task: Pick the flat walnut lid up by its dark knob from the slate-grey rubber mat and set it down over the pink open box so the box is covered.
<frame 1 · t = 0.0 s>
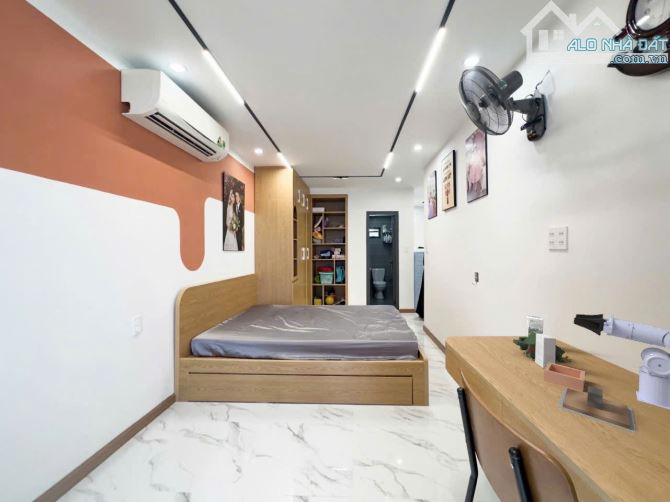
hand: (574, 318, 95), 22 cm above the table, tool horizontal, fingers open, 7 cm apart
pink open box: (564, 382, 93), on the table
green toy dinosaur: (539, 358, 115), on the table
rubber mat: (594, 409, 77), on the table
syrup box: (534, 347, 128), on the table
skincare box: (544, 366, 107), on the table
walnut lid: (594, 408, 77), resting on rubber mat
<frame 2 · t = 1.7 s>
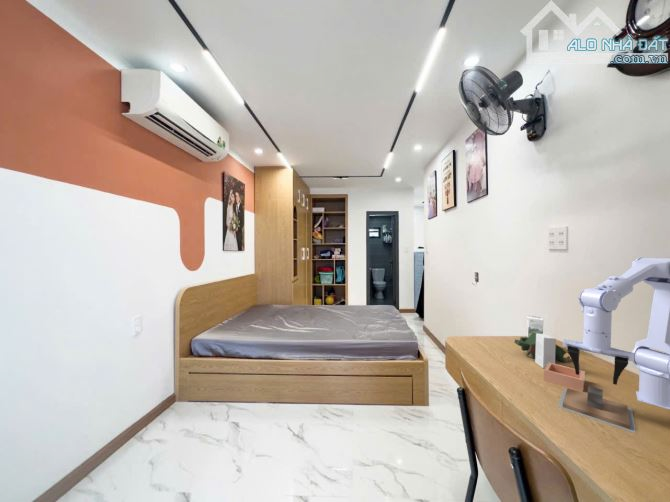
hand: (595, 378, 77), 9 cm above the table, tool pointing down, fingers open, 7 cm apart
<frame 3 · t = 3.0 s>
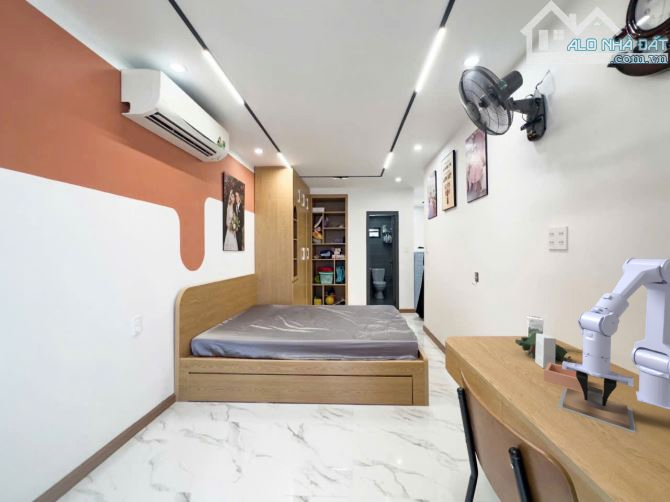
hand: (594, 401, 77), 2 cm above the table, tool pointing down, fingers closed on walnut lid, 3 cm apart
walnut lid: (594, 408, 77), resting on rubber mat, touching gripper
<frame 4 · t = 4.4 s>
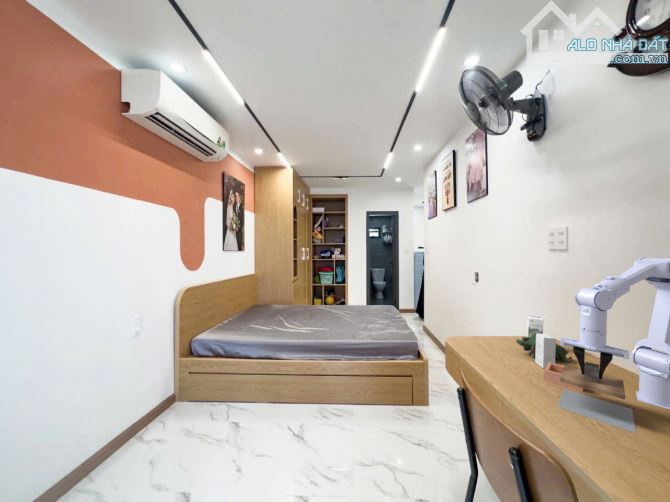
hand: (591, 375, 79), 9 cm above the table, tool pointing down, fingers closed on walnut lid, 3 cm apart
walnut lid: (591, 382, 79), point 7 cm above the table, touching gripper
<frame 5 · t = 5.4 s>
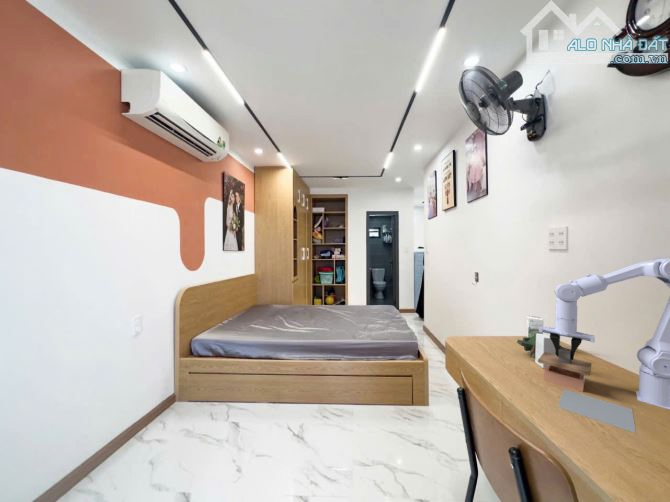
hand: (564, 357, 93), 9 cm above the table, tool pointing down, fingers closed on walnut lid, 3 cm apart
walnut lid: (564, 364, 93), point 6 cm above the table, touching gripper
when the fingers open (7 cm above the table, at t = 5.9 s): walnut lid drops 1 cm, resting on pink open box.
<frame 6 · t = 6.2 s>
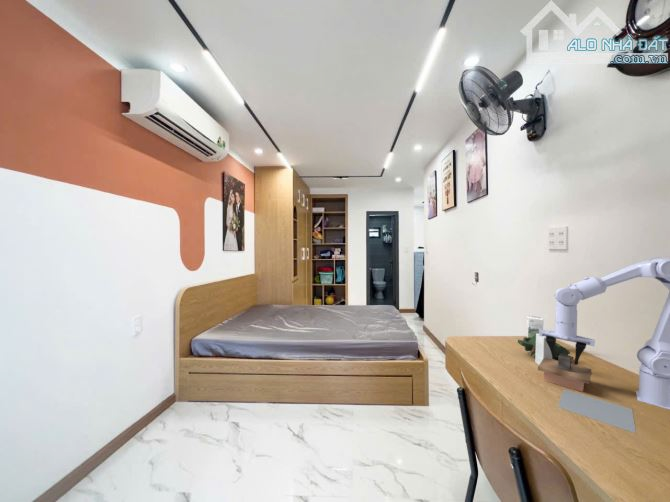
hand: (564, 361, 93), 7 cm above the table, tool pointing down, fingers open, 5 cm apart
walnut lid: (564, 370, 93), point 4 cm above the table, touching pink open box
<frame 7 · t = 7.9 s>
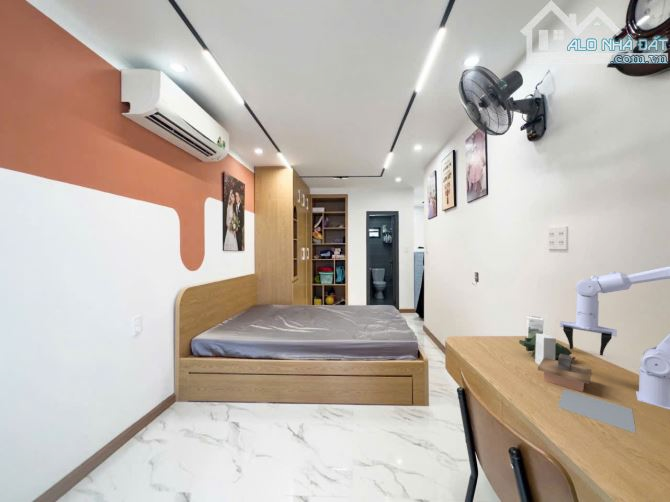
hand: (585, 351, 94), 10 cm above the table, tool pointing down, fingers open, 7 cm apart
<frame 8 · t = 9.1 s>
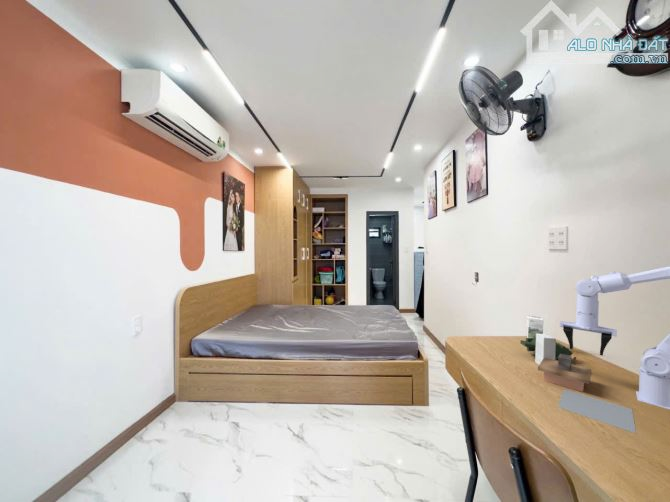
hand: (585, 351, 94), 10 cm above the table, tool pointing down, fingers open, 7 cm apart
at the end: walnut lid 0.3 cm off-centre on the pink open box, point 4.0 cm above the pink open box's base; walnut lid tilted 0°; the gripper is holding nothing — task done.
